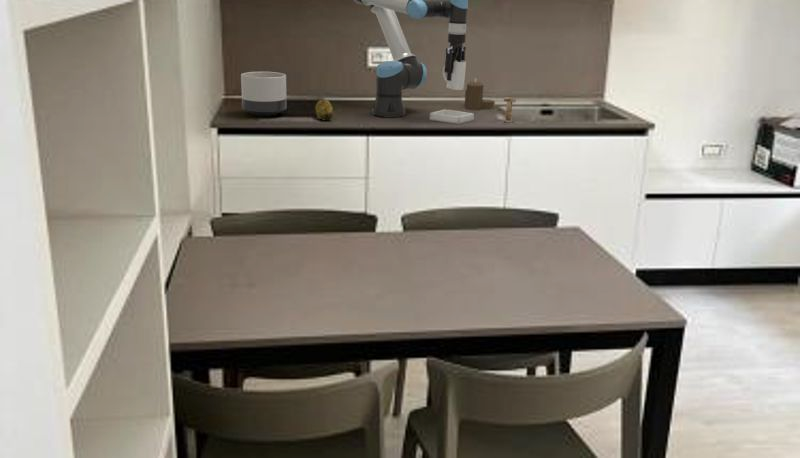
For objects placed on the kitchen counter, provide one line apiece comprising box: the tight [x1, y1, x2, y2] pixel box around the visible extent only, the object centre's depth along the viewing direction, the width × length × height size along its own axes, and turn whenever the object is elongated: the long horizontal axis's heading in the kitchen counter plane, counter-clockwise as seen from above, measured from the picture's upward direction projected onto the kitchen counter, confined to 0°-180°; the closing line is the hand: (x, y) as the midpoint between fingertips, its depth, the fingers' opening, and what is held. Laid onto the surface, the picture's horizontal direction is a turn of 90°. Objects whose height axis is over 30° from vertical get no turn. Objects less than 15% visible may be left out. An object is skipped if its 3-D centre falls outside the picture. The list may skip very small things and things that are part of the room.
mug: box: [442, 59, 467, 91], centre depth 344 cm, size 10×7×12 cm, turn 78°
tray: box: [429, 108, 475, 125], centre depth 350 cm, size 15×13×3 cm
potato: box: [314, 99, 334, 121], centre depth 342 cm, size 8×13×8 cm, turn 179°
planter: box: [240, 71, 287, 117], centre depth 345 cm, size 19×19×18 cm
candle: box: [464, 77, 495, 111], centre depth 380 cm, size 14×14×15 cm
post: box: [503, 97, 517, 122], centre depth 350 cm, size 5×4×10 cm
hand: (453, 87), depth 346 cm, fingers closed on mug, 6 cm apart
